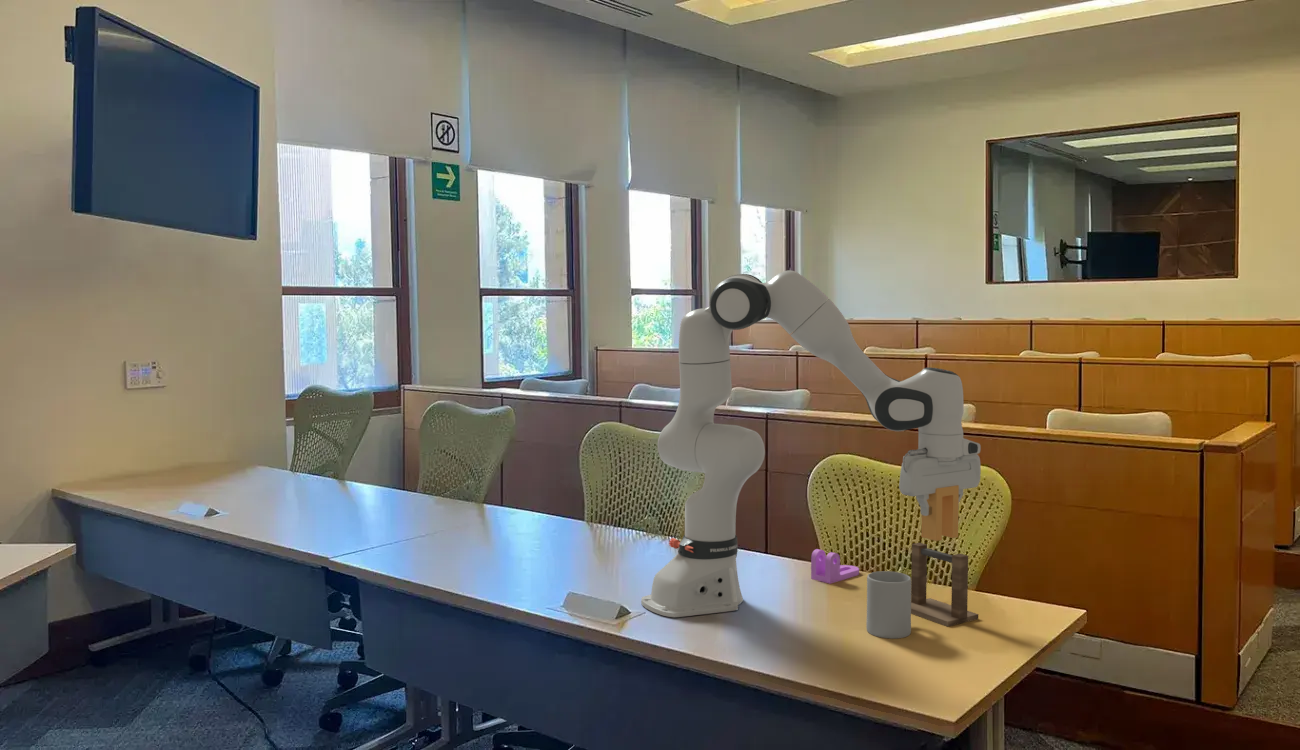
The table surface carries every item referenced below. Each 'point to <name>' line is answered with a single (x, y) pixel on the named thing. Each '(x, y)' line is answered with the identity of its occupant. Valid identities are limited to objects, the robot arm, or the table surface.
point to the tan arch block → (942, 514)
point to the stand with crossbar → (958, 606)
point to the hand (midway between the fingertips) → (939, 512)
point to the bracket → (830, 567)
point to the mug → (888, 604)
